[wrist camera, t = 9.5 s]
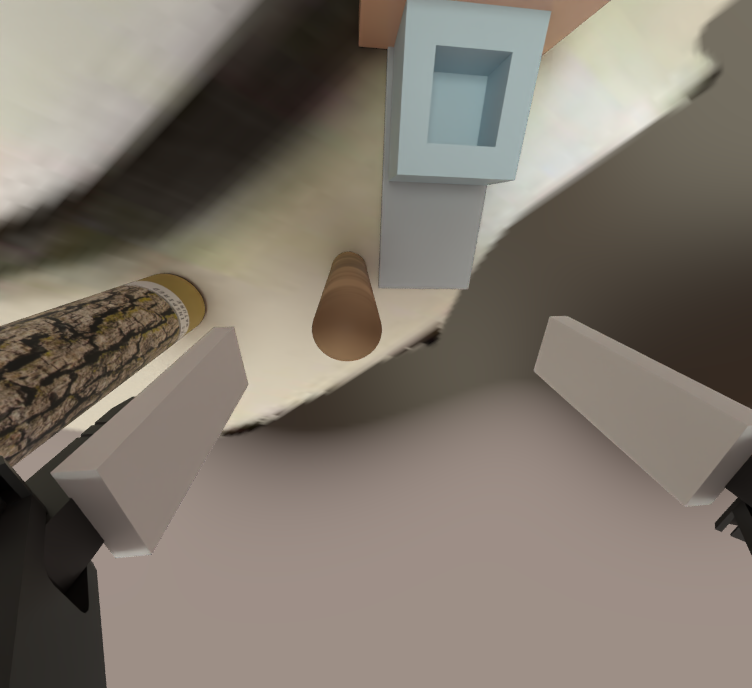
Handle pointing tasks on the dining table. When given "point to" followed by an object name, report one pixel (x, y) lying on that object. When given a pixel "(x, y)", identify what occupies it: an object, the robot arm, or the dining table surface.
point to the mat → (425, 225)
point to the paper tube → (85, 354)
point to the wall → (386, 3)
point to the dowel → (347, 311)
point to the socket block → (462, 90)
